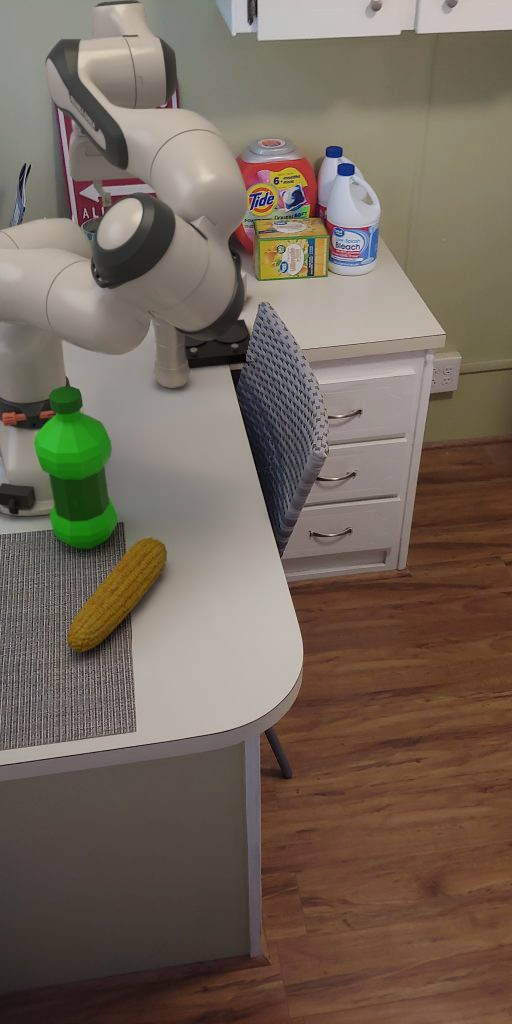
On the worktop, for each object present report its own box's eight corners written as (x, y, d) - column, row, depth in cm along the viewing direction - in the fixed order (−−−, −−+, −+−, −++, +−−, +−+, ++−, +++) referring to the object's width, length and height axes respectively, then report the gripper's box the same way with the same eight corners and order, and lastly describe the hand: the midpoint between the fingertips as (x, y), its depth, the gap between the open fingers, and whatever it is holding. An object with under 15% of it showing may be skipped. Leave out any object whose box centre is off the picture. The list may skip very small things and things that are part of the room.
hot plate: (256, 361, 180) (256, 347, 178) (174, 369, 178) (174, 355, 176) (244, 328, 191) (243, 314, 189) (166, 335, 189) (165, 321, 187)
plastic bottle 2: (175, 370, 178) (168, 272, 165) (197, 384, 174) (192, 284, 161) (148, 382, 174) (139, 282, 162) (170, 396, 170) (163, 295, 158)
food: (140, 557, 136) (137, 526, 132) (174, 568, 134) (172, 536, 130) (60, 656, 121) (53, 623, 117) (97, 669, 119) (91, 636, 115)
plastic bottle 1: (40, 554, 136) (12, 409, 121) (70, 511, 144) (47, 370, 128) (104, 566, 134) (83, 421, 118) (131, 521, 142) (115, 380, 126)
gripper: (192, 106, 148) (196, 193, 157) (63, 113, 146) (74, 200, 155) (196, 118, 144) (200, 206, 152) (62, 125, 141) (74, 214, 150)
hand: (136, 203), depth 154 cm, fingers open, 8 cm apart
